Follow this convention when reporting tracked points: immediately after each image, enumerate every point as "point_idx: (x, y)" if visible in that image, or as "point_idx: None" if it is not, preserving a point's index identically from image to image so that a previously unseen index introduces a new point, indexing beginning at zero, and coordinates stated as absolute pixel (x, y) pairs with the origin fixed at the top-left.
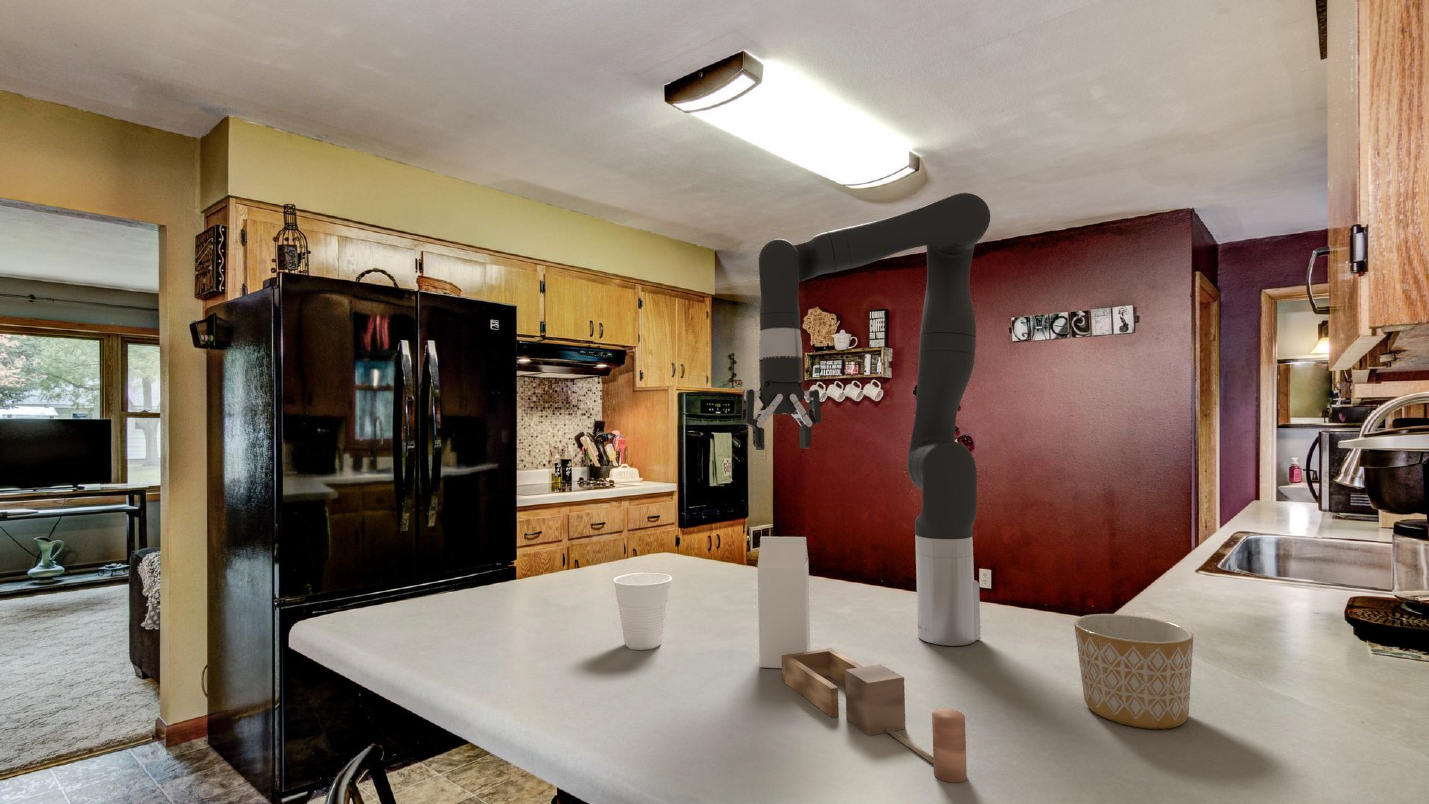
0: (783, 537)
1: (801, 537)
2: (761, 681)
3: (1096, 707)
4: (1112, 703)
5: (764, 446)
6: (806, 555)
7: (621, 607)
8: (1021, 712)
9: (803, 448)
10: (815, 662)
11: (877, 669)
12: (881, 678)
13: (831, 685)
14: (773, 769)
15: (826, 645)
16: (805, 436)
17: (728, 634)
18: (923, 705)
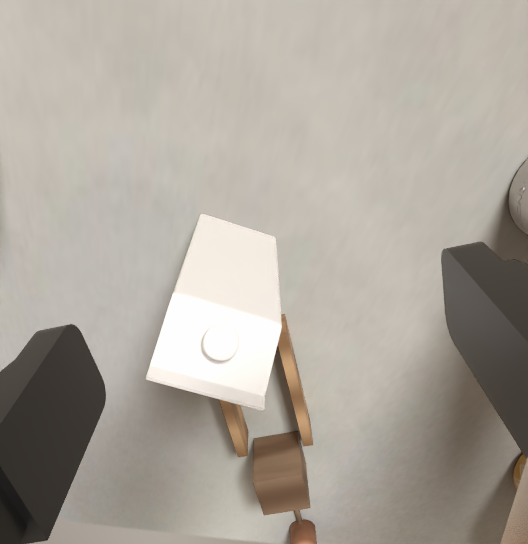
0: (206, 395)
1: (252, 407)
2: None
3: (514, 476)
4: None
5: (101, 410)
6: (273, 345)
7: None
8: (445, 449)
9: (444, 302)
10: None
11: (291, 486)
12: (283, 508)
13: (241, 449)
14: (160, 505)
15: (322, 187)
16: (489, 395)
17: (139, 73)
18: (353, 421)
